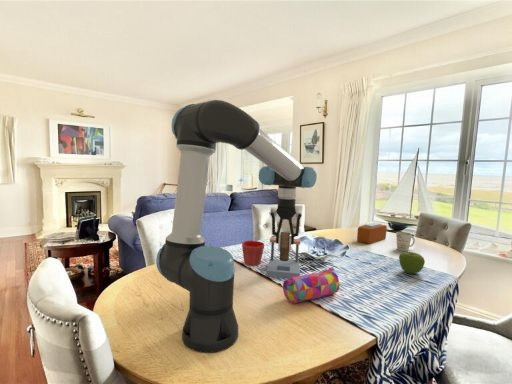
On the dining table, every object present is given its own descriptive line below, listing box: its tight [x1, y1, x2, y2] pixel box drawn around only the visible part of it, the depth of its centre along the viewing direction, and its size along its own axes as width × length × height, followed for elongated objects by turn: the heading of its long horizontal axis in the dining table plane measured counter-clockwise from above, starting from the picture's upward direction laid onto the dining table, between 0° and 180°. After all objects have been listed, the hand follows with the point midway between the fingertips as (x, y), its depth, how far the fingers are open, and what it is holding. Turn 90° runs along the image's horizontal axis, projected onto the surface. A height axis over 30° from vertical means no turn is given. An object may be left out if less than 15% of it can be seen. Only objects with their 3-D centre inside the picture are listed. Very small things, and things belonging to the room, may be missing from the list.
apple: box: [398, 251, 426, 275], centre depth 130 cm, size 11×10×10 cm
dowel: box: [279, 231, 291, 261], centre depth 123 cm, size 4×4×12 cm
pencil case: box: [282, 267, 340, 304], centre depth 102 cm, size 22×9×9 cm, turn 124°
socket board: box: [265, 236, 301, 279], centre depth 126 cm, size 16×14×13 cm
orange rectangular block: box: [356, 222, 387, 245], centre depth 189 cm, size 24×8×11 cm, turn 130°
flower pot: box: [241, 240, 265, 267], centre depth 136 cm, size 11×11×10 cm
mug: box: [395, 231, 416, 252], centre depth 170 cm, size 8×13×10 cm, turn 107°
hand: (284, 251), depth 123 cm, fingers closed on dowel, 4 cm apart
